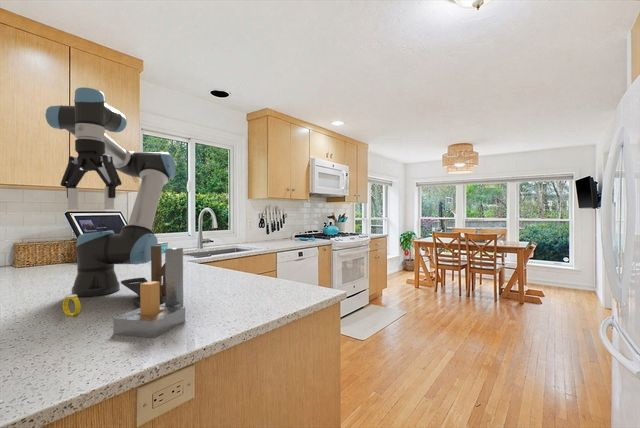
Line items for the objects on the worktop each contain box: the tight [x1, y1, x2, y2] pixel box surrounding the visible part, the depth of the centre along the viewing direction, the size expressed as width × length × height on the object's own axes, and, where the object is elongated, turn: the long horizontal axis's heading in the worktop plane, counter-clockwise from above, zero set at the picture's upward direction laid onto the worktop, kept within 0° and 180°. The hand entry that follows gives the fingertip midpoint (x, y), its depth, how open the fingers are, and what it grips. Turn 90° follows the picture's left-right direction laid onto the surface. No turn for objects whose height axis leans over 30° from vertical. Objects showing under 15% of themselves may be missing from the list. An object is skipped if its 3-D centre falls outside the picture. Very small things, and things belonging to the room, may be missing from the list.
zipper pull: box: [120, 277, 166, 309], centre depth 108 cm, size 9×7×25 cm
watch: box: [62, 294, 82, 317], centre depth 96 cm, size 6×3×6 cm, turn 70°
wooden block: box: [150, 244, 165, 296], centre depth 120 cm, size 4×11×18 cm, turn 67°
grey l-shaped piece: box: [112, 247, 186, 339], centre depth 88 cm, size 18×12×20 cm
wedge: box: [140, 280, 160, 316], centre depth 85 cm, size 3×3×12 cm
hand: (91, 209), depth 99 cm, fingers open, 13 cm apart
